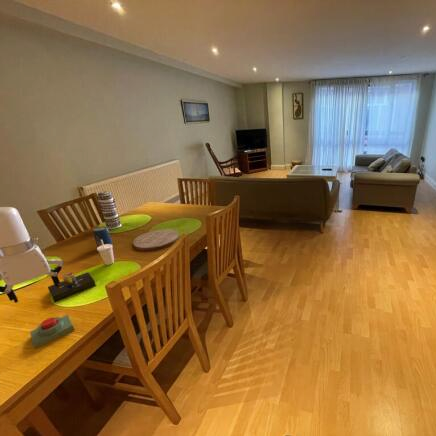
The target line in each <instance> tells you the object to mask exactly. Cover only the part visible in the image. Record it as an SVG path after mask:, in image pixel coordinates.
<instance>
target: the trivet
mask: <svg viewBox="0 0 436 436" xmlns="http://www.w3.org/2000/svg"><path fill="white" fill-rule="evenodd" d="M178 238H179V239H180V232H179V231H178V230H175V229H171V228H169V229H167V228H164V229H163V228H162V229H157V230H151V231H148V232H145V233H142V234H141V235H139V236H137V237H136V238H134V240H133V243H132V244H133V247H134V249H136V250H138V251H145V252H146V251H147V252H149V251H157V250H161V249H165V248H168V247H170V246H173V245H174V244H175V243H177V242H178V241H177V239H178ZM176 241H177V242H176Z"/></svg>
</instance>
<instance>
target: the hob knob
mask: <svg viewBox="0 0 436 436" xmlns="http://www.w3.org/2000/svg"><path fill="white" fill-rule="evenodd" d="M75 277H76V276H75V274H74V272H73V271H72V272H67V273H64V274H63V275H62V276H61V278H62V280H63V281H64V282H65V284H66V286H71V285H74V284H75V283H76V282H77V281H76V279H75Z"/></svg>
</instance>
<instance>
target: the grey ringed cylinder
mask: <svg viewBox="0 0 436 436" xmlns="http://www.w3.org/2000/svg"><path fill="white" fill-rule="evenodd" d="M96 197H97V200H98V206H99V209H100V211H101V213H102V214H103V220H104V222H105V223H104V224H105V227H106V228H107V229H108V230H114V229H118V228H120V227H122V222H121V219H120V216H119V214H118V211H117V210H118V209H117V206H116V205H117V204H116V199H115V198H114V197H113V195H112V192H110V191H108V190H106V191H105V190H103V191H100V192H98V193H97V194H96Z"/></svg>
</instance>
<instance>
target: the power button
mask: <svg viewBox="0 0 436 436" xmlns="http://www.w3.org/2000/svg"><path fill="white" fill-rule="evenodd" d="M55 318H56V317H49V318H46V319H44V320H43V321H41V323H40V324H41V326H42V328H43V329H49V328H51V327H53V326H55V325H56V324H57V321H56V319H55Z"/></svg>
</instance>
